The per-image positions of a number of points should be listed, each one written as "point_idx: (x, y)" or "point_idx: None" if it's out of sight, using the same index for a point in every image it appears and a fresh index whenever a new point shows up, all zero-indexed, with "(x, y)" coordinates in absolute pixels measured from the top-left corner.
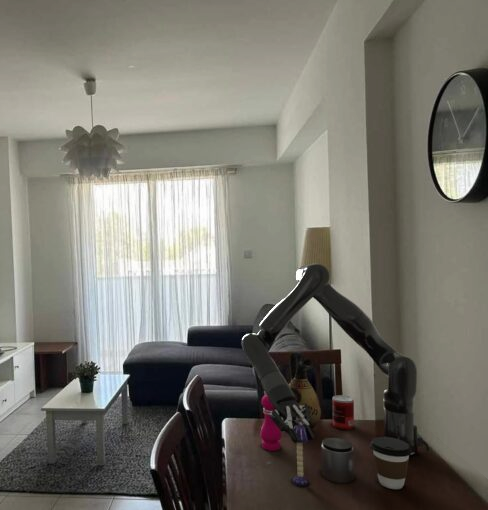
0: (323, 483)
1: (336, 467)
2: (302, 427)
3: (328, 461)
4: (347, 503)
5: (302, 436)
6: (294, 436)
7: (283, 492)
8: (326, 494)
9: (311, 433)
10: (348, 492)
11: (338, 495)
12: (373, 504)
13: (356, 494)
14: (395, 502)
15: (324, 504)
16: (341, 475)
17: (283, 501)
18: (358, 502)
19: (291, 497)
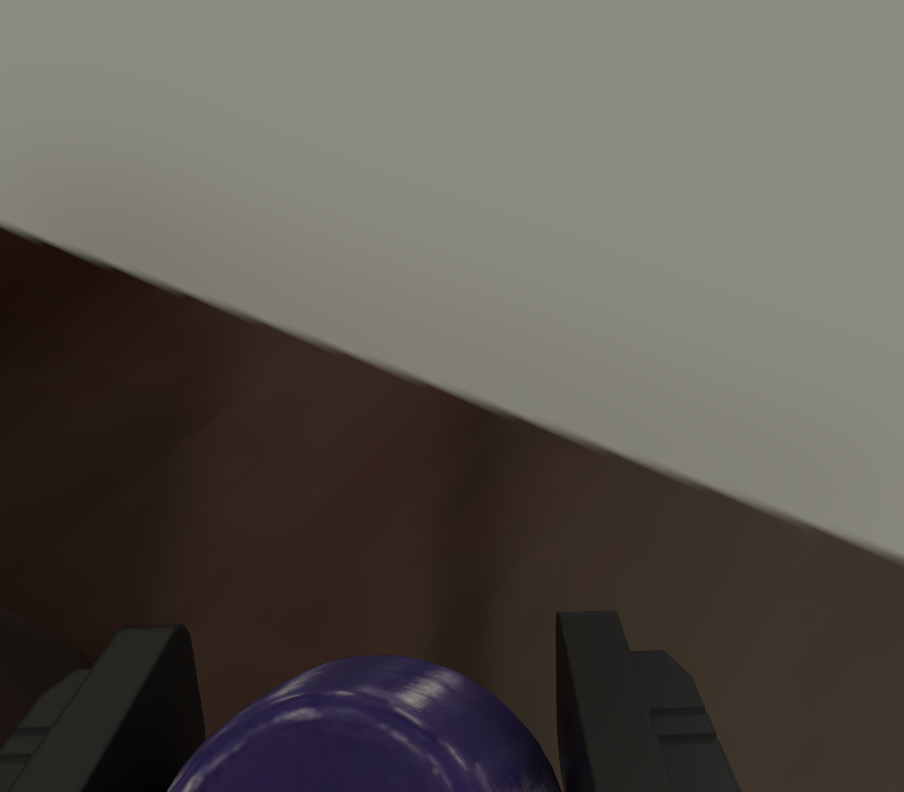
0: (229, 715)
1: (16, 638)
2: (304, 731)
3: (15, 725)
4: (329, 360)
5: (420, 670)
6: (663, 703)
7: (754, 735)
8: (374, 530)
9: (108, 670)
10: (170, 482)
11: (291, 477)
12: (168, 286)
13: (142, 432)
14: (6, 252)
15: (513, 414)
16: (26, 623)
17: (841, 587)
18: (240, 341)
19: (725, 617)
